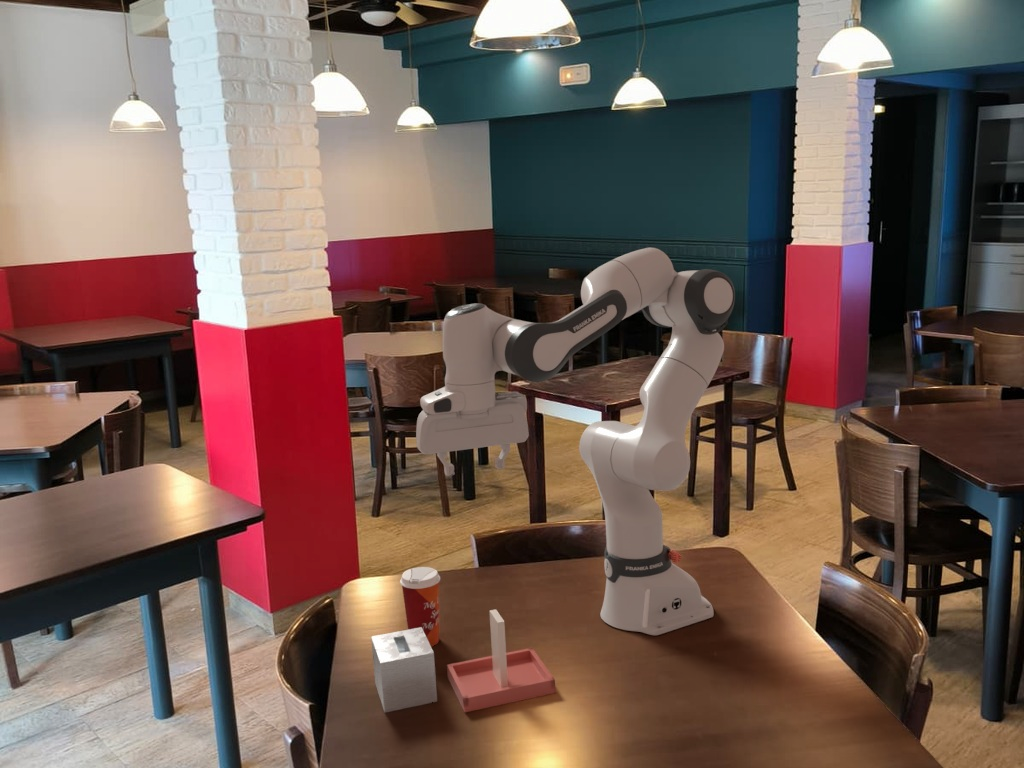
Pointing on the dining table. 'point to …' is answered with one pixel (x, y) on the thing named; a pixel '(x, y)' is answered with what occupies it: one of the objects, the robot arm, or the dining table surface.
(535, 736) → the dining table surface
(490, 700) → the tray
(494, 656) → the long rectangular block
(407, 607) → the paper cup
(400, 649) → the dispenser
